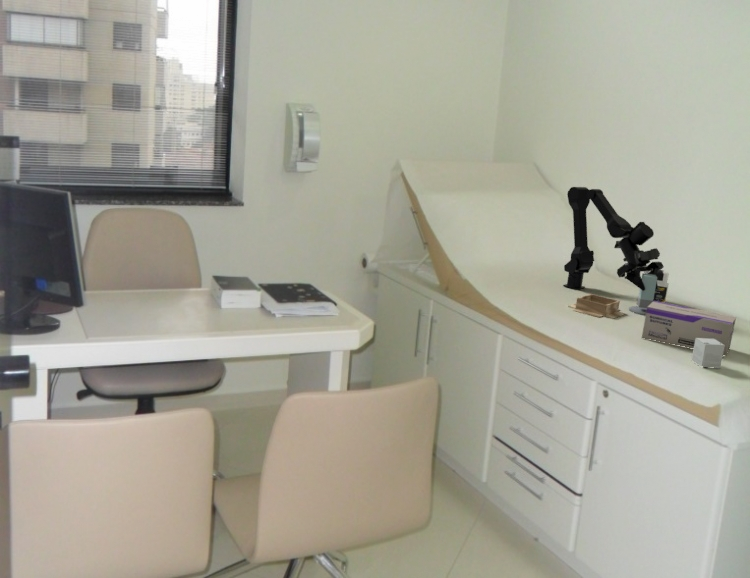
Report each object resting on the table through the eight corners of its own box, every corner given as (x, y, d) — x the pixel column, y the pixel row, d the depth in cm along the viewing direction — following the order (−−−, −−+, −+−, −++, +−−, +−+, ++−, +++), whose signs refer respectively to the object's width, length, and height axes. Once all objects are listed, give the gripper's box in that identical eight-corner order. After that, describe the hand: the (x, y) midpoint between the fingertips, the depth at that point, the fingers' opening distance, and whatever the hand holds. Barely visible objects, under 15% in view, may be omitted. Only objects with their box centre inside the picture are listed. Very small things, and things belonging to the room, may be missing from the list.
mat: (635, 306, 303) (635, 304, 303) (662, 313, 297) (662, 311, 297) (624, 310, 296) (624, 308, 296) (651, 317, 290) (651, 315, 290)
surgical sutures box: (641, 339, 262) (647, 306, 260) (648, 332, 271) (654, 300, 269) (725, 357, 251) (732, 324, 248) (729, 349, 260) (736, 317, 257)
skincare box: (709, 361, 244) (714, 338, 242) (720, 369, 238) (725, 344, 237) (690, 361, 243) (695, 337, 241) (701, 368, 237) (706, 343, 236)
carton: (585, 301, 303) (587, 291, 302) (629, 312, 293) (631, 301, 292) (563, 308, 291) (565, 297, 290) (608, 320, 280) (610, 308, 279)
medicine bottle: (644, 301, 313) (650, 270, 310) (646, 297, 319) (651, 267, 316) (664, 304, 310) (670, 273, 307) (665, 301, 317) (671, 270, 314)
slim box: (636, 304, 298) (642, 273, 296) (649, 305, 298) (655, 274, 295) (638, 307, 294) (644, 275, 291) (651, 308, 294) (657, 277, 291)
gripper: (628, 240, 289) (648, 279, 282) (664, 239, 299) (683, 277, 292) (608, 257, 297) (626, 295, 291) (643, 256, 307) (661, 292, 301)
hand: (650, 289), depth 293 cm, fingers closed on slim box, 6 cm apart
